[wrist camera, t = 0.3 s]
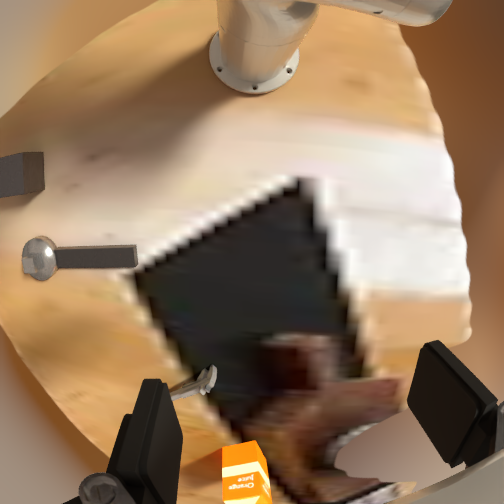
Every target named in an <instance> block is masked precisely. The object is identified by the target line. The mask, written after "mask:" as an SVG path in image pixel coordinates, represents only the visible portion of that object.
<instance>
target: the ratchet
mask: <svg viewBox="0 0 504 504" xmlns="http://www.w3.org/2000/svg"><path fill="white" fill-rule="evenodd" d="M22 263H23V268H24V273H29V274H30V275H31V276H32V277H34V278H35V279H37V280H46V279H48V278H50V277H51V276H52V275H54V274H55V273H56V272H57V270H58V269H59V268H105V267H136V266H137V265H138V258H137V248H136V245H108V246H76V247H58V248H57V247H56V245H55V243H54V242H53V241H52V240H51V239H49V238H47V237H45V236H38V237H35V238H33V239H31V240H29V241H28V242H27V243H26V244H25V246H24V248H23V253H22Z"/></svg>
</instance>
